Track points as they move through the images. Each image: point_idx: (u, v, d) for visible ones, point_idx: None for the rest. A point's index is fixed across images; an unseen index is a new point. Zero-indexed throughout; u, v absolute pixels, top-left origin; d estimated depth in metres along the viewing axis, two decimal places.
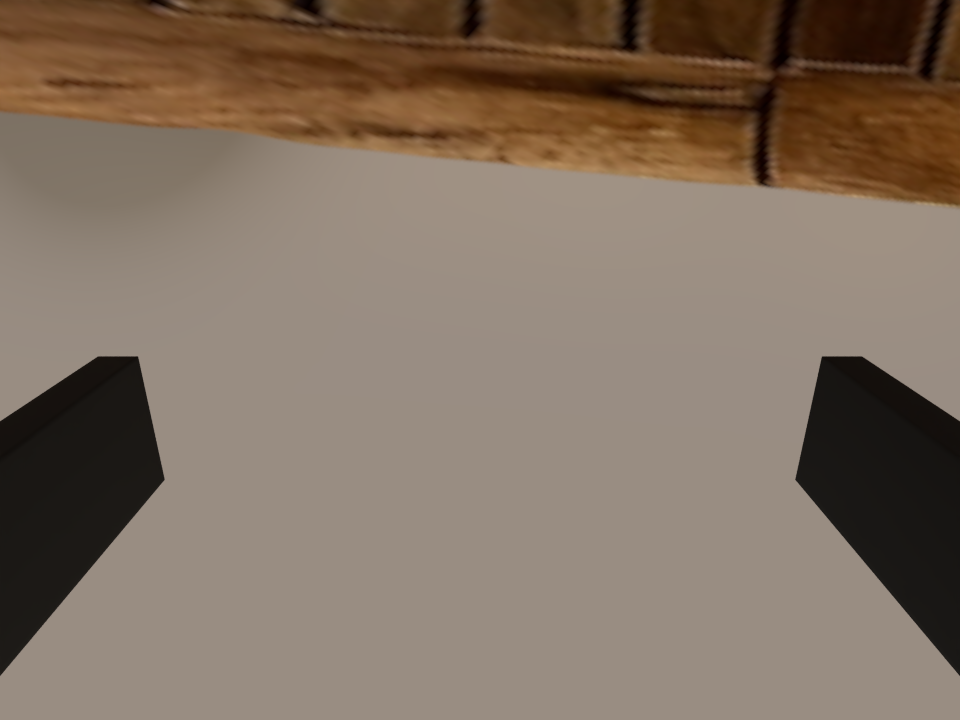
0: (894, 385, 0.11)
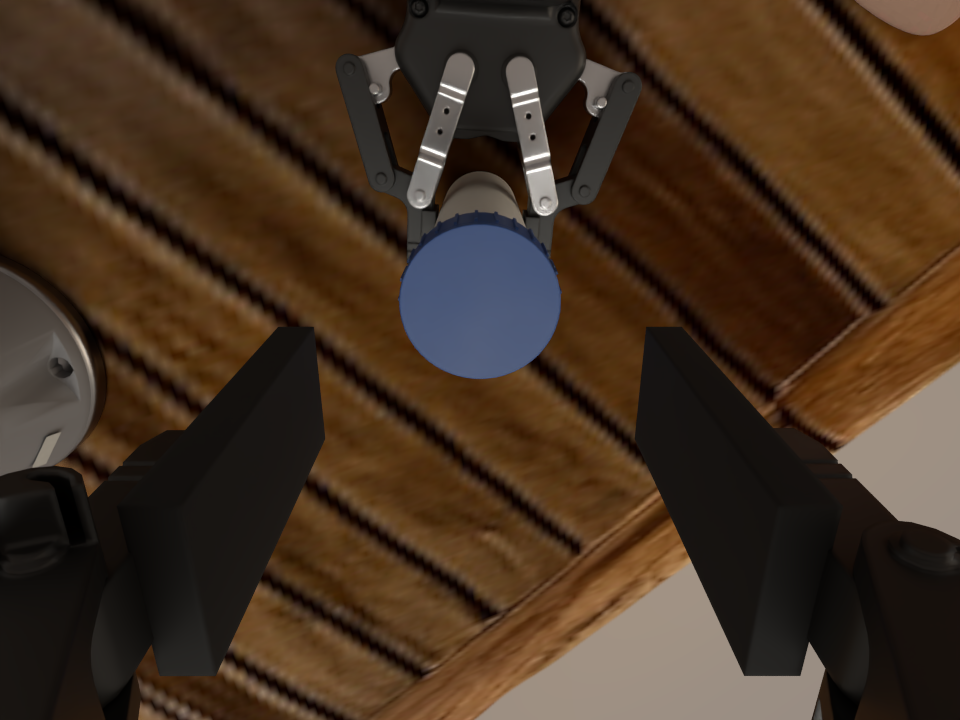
0: (692, 349, 0.12)
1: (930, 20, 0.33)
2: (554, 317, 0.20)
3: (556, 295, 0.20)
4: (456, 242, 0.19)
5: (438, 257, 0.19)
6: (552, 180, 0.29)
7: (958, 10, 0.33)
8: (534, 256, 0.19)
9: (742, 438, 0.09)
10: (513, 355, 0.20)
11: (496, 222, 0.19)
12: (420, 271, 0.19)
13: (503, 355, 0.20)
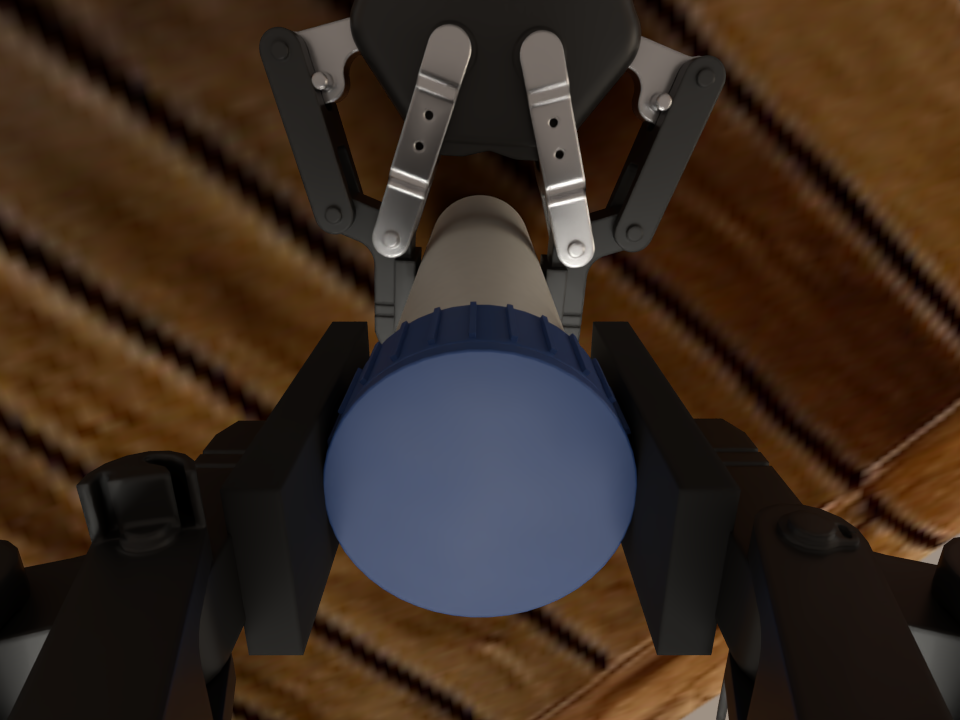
0: (632, 342, 0.13)
1: None
2: (624, 517, 0.10)
3: (629, 478, 0.10)
4: (432, 384, 0.09)
5: (396, 411, 0.10)
6: (587, 217, 0.20)
7: None
8: (589, 409, 0.10)
9: (660, 426, 0.09)
10: (543, 580, 0.11)
11: (513, 341, 0.10)
12: (361, 437, 0.10)
13: (524, 580, 0.11)
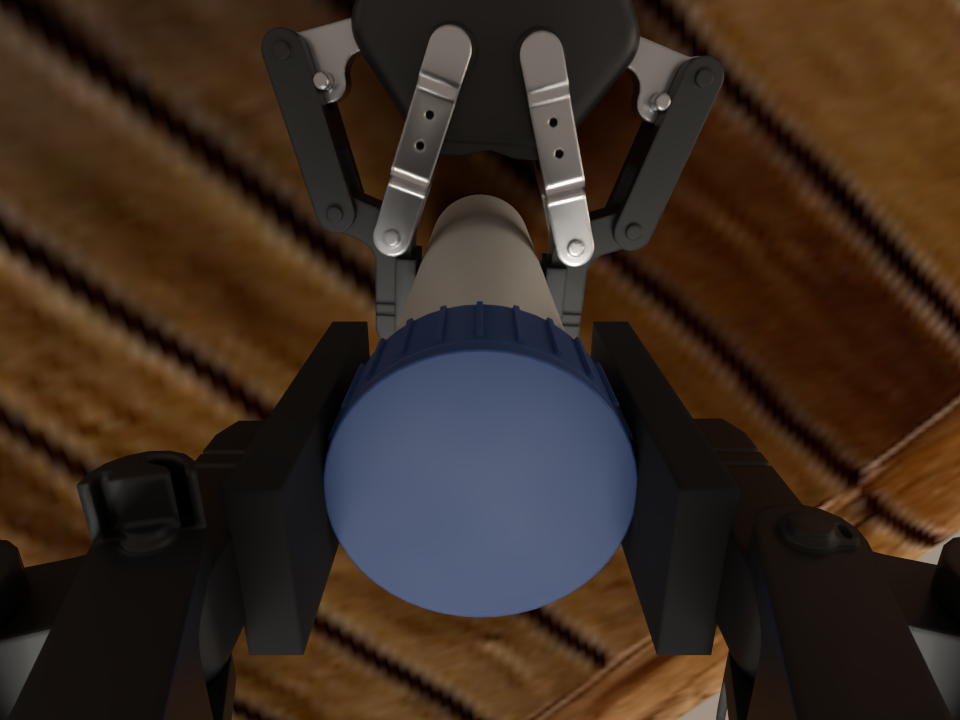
0: (632, 343, 0.13)
1: None
2: (591, 400, 0.09)
3: (554, 373, 0.09)
4: (351, 467, 0.10)
5: (359, 505, 0.10)
6: (586, 216, 0.20)
7: None
8: (458, 367, 0.09)
9: (659, 426, 0.09)
10: (605, 500, 0.10)
11: (367, 380, 0.10)
12: (364, 541, 0.10)
13: (592, 513, 0.10)
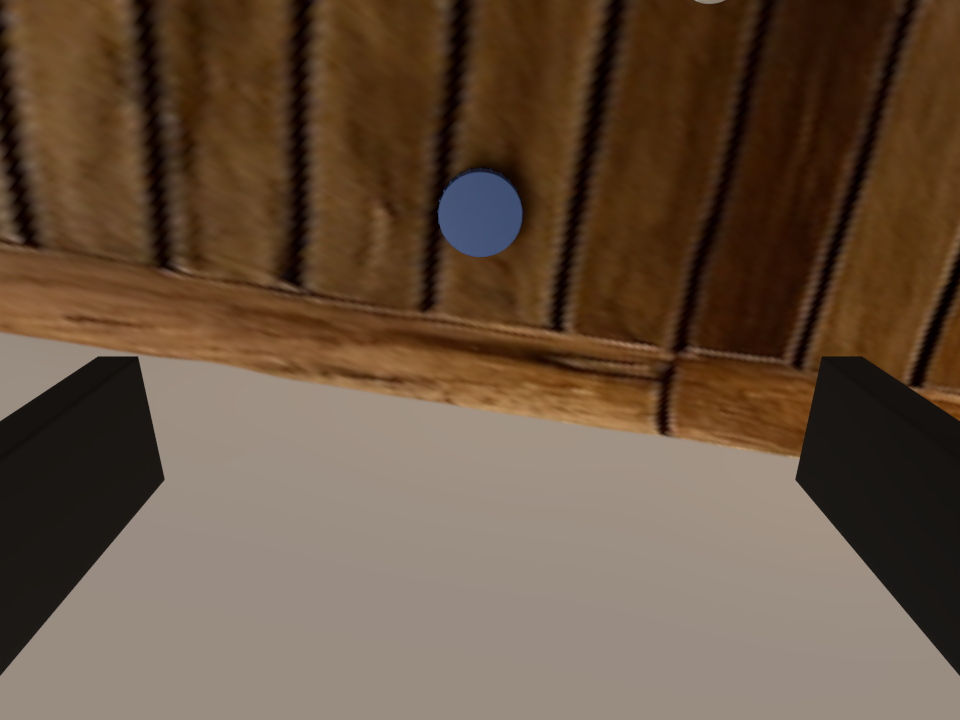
0: (894, 385, 0.11)
1: None
2: (508, 186, 0.37)
3: (499, 178, 0.37)
4: (446, 206, 0.37)
5: (447, 218, 0.38)
6: None
7: None
8: (474, 176, 0.37)
9: None
10: (513, 216, 0.38)
11: (450, 183, 0.37)
12: (448, 230, 0.38)
13: (510, 221, 0.38)
